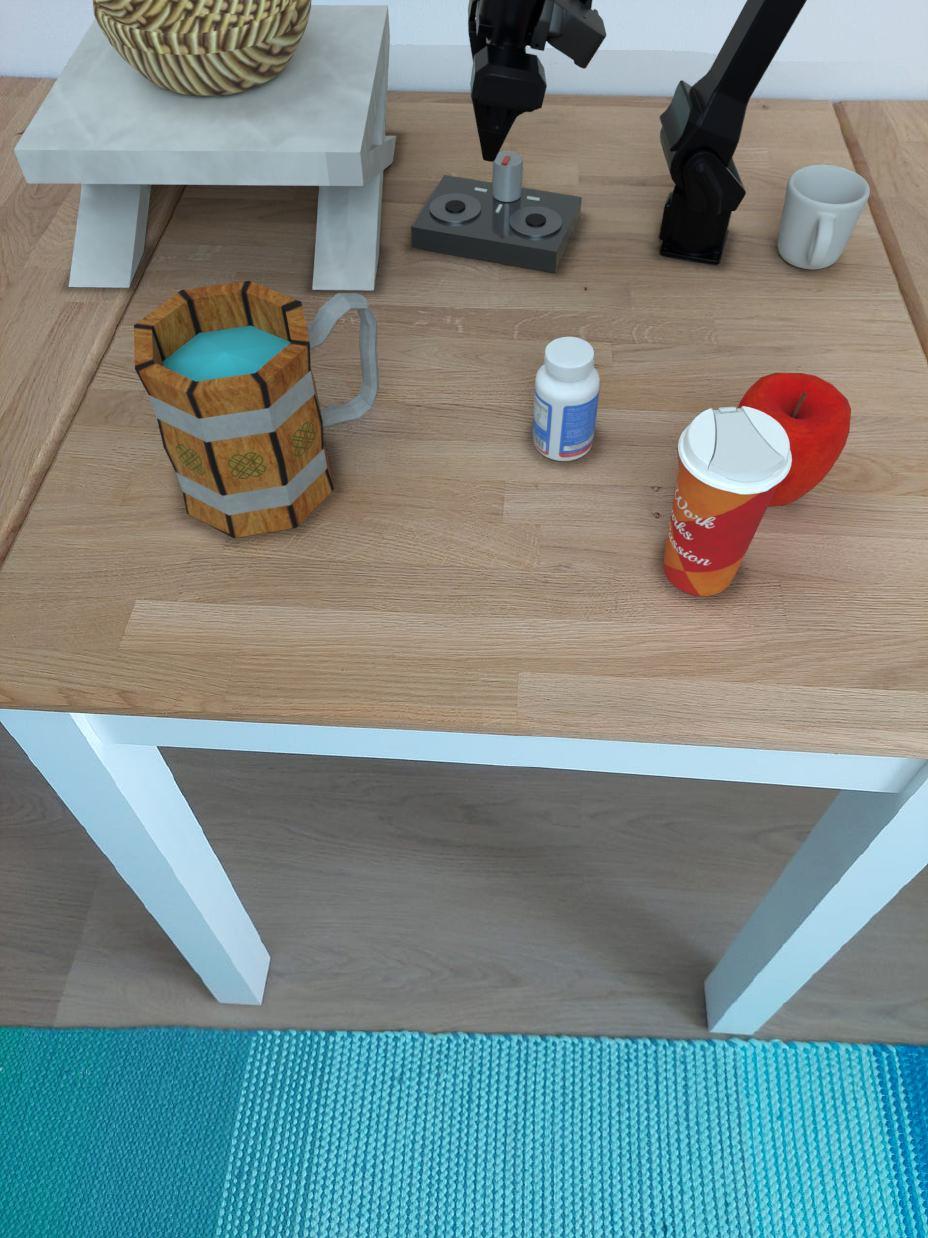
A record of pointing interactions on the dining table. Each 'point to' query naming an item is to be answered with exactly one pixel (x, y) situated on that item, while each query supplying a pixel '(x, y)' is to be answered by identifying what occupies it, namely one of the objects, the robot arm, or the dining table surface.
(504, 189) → the hob knob
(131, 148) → the grey stone stand
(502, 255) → the hob
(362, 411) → the mug
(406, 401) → the dining table surface
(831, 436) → the apple
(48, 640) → the dining table surface
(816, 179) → the cup
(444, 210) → the burners
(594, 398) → the pill bottle
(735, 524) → the paper cup
